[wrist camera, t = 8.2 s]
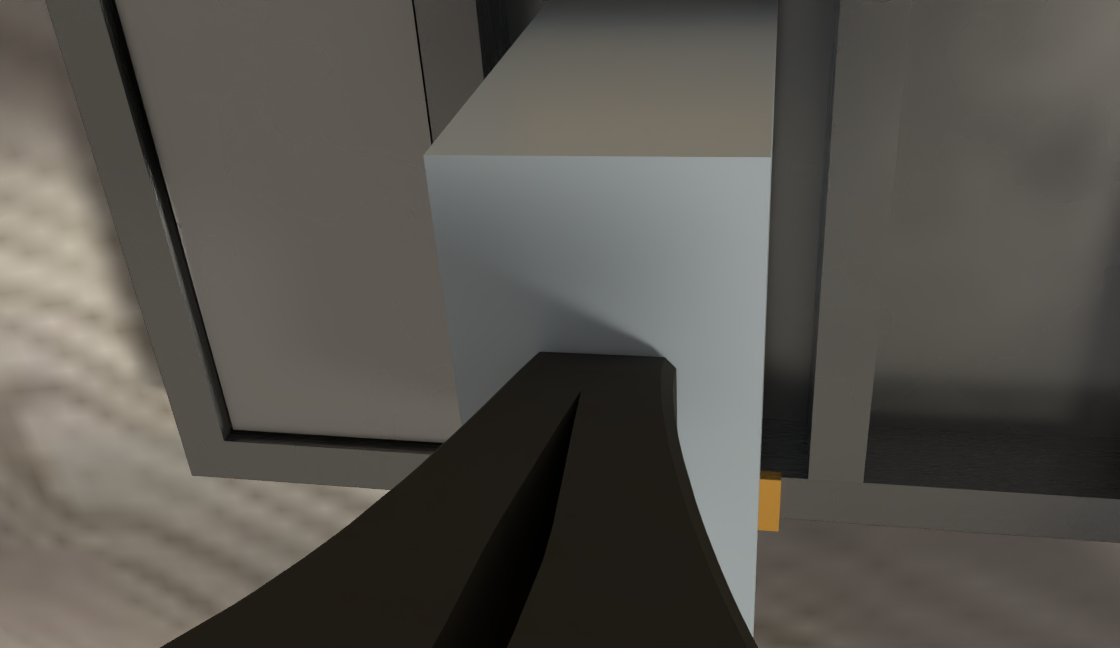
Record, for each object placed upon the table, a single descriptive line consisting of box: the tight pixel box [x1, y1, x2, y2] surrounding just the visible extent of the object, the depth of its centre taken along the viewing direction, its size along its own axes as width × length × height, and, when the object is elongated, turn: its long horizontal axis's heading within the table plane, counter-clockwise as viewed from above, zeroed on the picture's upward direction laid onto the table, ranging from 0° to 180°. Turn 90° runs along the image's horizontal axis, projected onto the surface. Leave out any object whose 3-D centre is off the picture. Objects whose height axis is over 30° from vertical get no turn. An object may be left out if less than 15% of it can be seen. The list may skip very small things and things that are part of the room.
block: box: [423, 0, 778, 637], centre depth 13 cm, size 6×3×6 cm, turn 4°
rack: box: [46, 0, 1120, 543], centre depth 15 cm, size 10×16×2 cm, turn 94°
